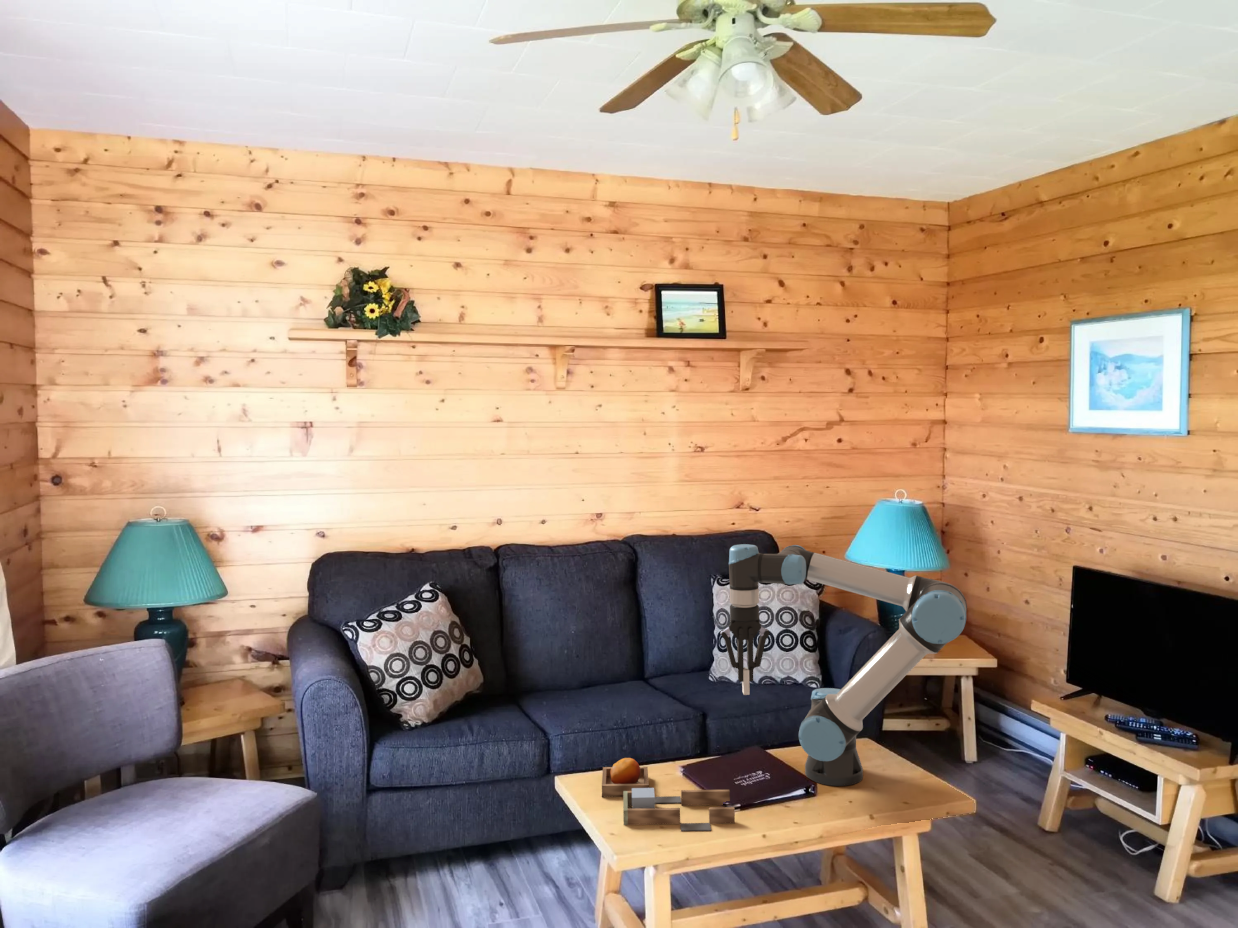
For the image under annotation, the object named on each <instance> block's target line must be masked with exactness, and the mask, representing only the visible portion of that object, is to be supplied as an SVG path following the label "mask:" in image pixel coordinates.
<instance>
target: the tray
mask: <svg viewBox="0 0 1238 928" xmlns="http://www.w3.org/2000/svg"><path fill="white" fill-rule="evenodd" d="M612 767H613V766H605V767H604V766H602V773H601V774H602V775H601V798H623V791H632V788H650V785H649V768H648V767H649V766H640V777H639V780H638V782H637V783H636V784H614V783H613V782H612V781H611V774H610V771H611V768H612ZM639 782H640V783H639Z"/></svg>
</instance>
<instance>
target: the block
mask: <svg viewBox="0 0 1238 928" xmlns="http://www.w3.org/2000/svg"><path fill="white" fill-rule="evenodd" d="M655 797H656V796H655V788H654V787H649V788H632V806H631V809H634V808H656V804H655Z"/></svg>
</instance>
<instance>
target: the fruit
mask: <svg viewBox="0 0 1238 928" xmlns="http://www.w3.org/2000/svg"><path fill="white" fill-rule="evenodd" d="M611 767H612V768H611V771H610V774H611V781H612V782H613V783H614V784H636V783H637V782H638V780H639V777H640V767H641V766H640V765H639V763H638V762H637V761H636V760H635V758H631V757H624V758H621V759H619V760H618V761H616V762H615V763H613V765H612V766H611ZM639 783H640V782H639Z"/></svg>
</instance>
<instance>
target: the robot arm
mask: <svg viewBox="0 0 1238 928" xmlns="http://www.w3.org/2000/svg"><path fill="white" fill-rule="evenodd" d="M728 555H729V557H728V574H729V603H730V606H729V623H728V625H727V626H728V627H726V628H725V629H722V630H720V631H719V634H720V635H721V638H723V640H724V643H725V646H726V647H725V648H726V650H727V651H726V652H727V654H728V659H729V662H730V665H731V667H732V668H734V669H737V678H738V681H739V682H741V686H742V688H741V689H742V690H741V691H742V694H743V696H749V695H750V687H751V686H750V682H754V669H755V668H759V667H761V664H762V660H763V654H764V650H765V645H766V642H767V639H768V637H769V636H770V634H771V633H770V631H769V630H768V628H765V627H763V626H762V623H761V622H760V606H759V605H758V604H759V603H760V600H759V599H760V597H759V596H760V595H759V594H760V593H759V586H760V585H759V583H762V584H765V583H766V584H778V585H779V584H780V585H781V584H782V585H789V586H791V585H802V584H803V583H804V582H805V581H806V580H807V581H811V582H815V583H818V584H822V585H826V586H828V587H832V588H836V589H839V590H843V591H846V592H849V593H854V594H857V595H861V596H864V597H867V598H868V597H869V598H871V599H875V600H879V601H882V602H885V603H889V604H893V605H897V606H900V607H902V608H903V609H904V610H905V612H904V613H903V615H902V616H901V617H900V618H899V619H898V623H899V625H898V627H899V628H898V630H896V631H895V633H893V635H892V636H890V637H889V638H888V640H886V642H885V643H884V644H883V645H882V646H881V647H880V648H879V649H878V650H877V651H876V652H875V653H874V654H873V656H872V657H871V658H869V660H868V661H866V662H865V664H864V665H863V666H861V668H860V669H859V670H858V671H857V672H856V673H855V674H854V675H853V677H852V678H851V679H849V680H848V682H847V683H845V685H844V686H843V687H842V688H833V687H832V688H831V687H830V688H829V687H822V688H821V687H820V688H816V689H813V690H812V691H811V696H810V700H811V706H810V709H809V711H808V713H807V715H806V716H805V718H804V719H803V720H801V723H800V725H799V731H798V740H799V744H800V746H801V748H802V749H803V750H804V752H805V753H806V754H807V758H806V761H805V764H804V773H805V776H806V778H808V779H809V780H811V781H812V782H815V783H817V784H822V785H825V786H834V787H845V786H852V785H855V784H858V783H860V782H861V781H862V780H863V779H864V769H863V765H862V761H861V759H860V756H859V752H858V749H857V736H858V735H859V733H860V732H861V731H862V730H864V729H863V728H864V725H863V720H864V719H865V717H867V716H868V715H869V714H870V712H872V711H873V710H874V709H875V707H877V706H878V704H879V703H881V701H883V700H884V698H885V697H886V696H887V695H888V694H889V693H890V692H891V691H892V690H893V689H894V688H895V687H896V686H897V685H898V684H899V683H900V682H901V681H902V680H903V679H904V678H905V677H906V676H907V675H908V674H909V673H910V672H911V671H912V670H913V669H914V668H915V667H916V666H917V665H918V664H919V662H920V661H922V659H923V658H925V657H926V656H927V655H928V654H933V655H935V654H938V653H939V652H940V651H941V650H942V649H943V648H944V647H945V646H946V645H947V644H948V643H950V642H952V641H954V640H955V639H957V638H958V637H959V636H960V635H961V634H962V632H963V630H964V629H965V626H966V622H967V612H968V603H967V600H966V597H965V596H964V594H963V592H962V590H960V589H959V588H958V587H956V586H955V585H954V584H951V583H949V582H945V581H942V580H941V581H940V580H936V579H933V578H929V577H923V576H919V575H913V576H912V577H907V576H904V575H900V574H896V573H894V572H890V571H889V572H888V571H887V570H886V571H885V570H881V569H877V568H874V567H870V566H866V565H863V564H858V563H855V562H851V561H848V560H844V559H840V558H836V557H833V556H830V555H825V554H821V553H817V552H813V551H811V550H807V549H805V548H804V547H803V546H801V545H798V544H792V545H788V546H786V547H785V548H783V549H782V550H781V551H780V552H778V553H762V552H761V553H760V552H759V549H758V546H757V545H755V544H748V543H747V544H746V543H743V544H742V543H741V544H734V545H732V546H731V547H730V548H729V554H728ZM758 633H759V635H760V636H759V637H758V638H759V639H758V643H757V648H756V653H755V656H754V639H755V637H756V636H757V635H758ZM731 634H732V635H733V636H734V638H736V649H737V651H736V653H737V655H736V656H737V660H736V658H735V654H734V650H733V646H732V641H731V640H730V637H731ZM745 640H746V659H747V660H746V661H747V662H746V663H747V667H745V666H744V665H745V664H744V641H745Z"/></svg>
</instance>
